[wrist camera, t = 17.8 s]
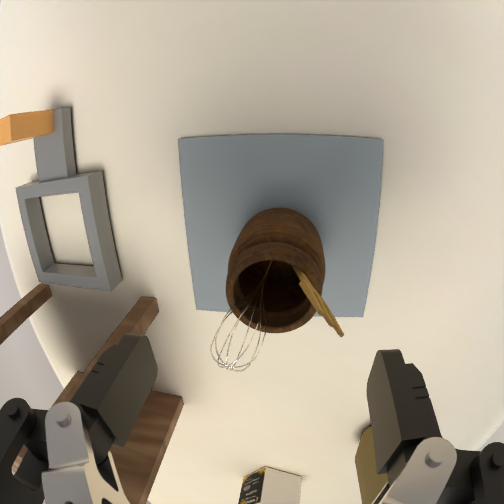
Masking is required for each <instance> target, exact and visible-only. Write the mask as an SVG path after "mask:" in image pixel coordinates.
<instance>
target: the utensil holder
mask: <svg viewBox="0 0 504 504" xmlns="http://www.w3.org/2000/svg"><path fill="white" fill-rule="evenodd" d="M325 272H326V268H325V258H324V252H323V246H322V242H321V238H320V235H319V233H318V231H317V229H316V227H315V226H314V224H313V223H312V222H311V221H310V220H309V219H308V218H307V217H306V216H304V215H303V214H301V213H299V212H297V211H295V210H292V209H288V208H271V209H267V210H264V211H261V212H259V213H258V214H256V215H255V216H253V217H252V218H251V219H250V220H249V221H248V222H247V223H246V224H245V226H244V227H243V229H242V230H241V232H240V234H239V236H238V238H237V240H236V242H235V244H234V246H233V248H232V251H231V254H230V257H229V261H228V274H227V278H226V298H227V302H228V304H229V307H230V310H232V312H233V313H234V315H235V316H236V317H237V318H238V320H237V322H236V323H237V324H238V322H239V320H240V321H241V322H243V323H244V324H246V325H247V326H249V327H251V328H253V329H255V331H256V330H258V331H260V333H261V331H262V332H265V335H266V332H267V333H284V332H289V331H292V330H295V329H297V328H299V327H301V326H303V325H304V324H305V323H307V322H308V321H309V320H310V319H311V318H312V317H313V316H314V314H315V313H316V311H317V313H318V314H319V315H320V316H323V317H324V319H325V320H326V322H327V323H328V324H329V325H330V326H331V327H333V328H334V329H335V331H336V332H337V334H338V335H339V336H340V337H343V336H344V333H343V332H342V330H341V328H340V326H339V324H338V323H337V321H336V319H335V317H334V316H333V314H332V312H331V310H330V309H329V307H328V305H327V304H326V302H325V301H324V300H323V298H322V297H321V296H322V289H323V284H324V280H325ZM230 310H229V311H230ZM229 311H228V312H229ZM228 312H227V314H228ZM232 312H231V313H232ZM231 313H230V314H231ZM227 314H226V315H227ZM230 314H229V315H230ZM226 315H225V317H226ZM229 315H228V316H229ZM228 316H227V317H228ZM225 317H224V319H223V321H222V323H223V322H224V320H225V319H226V318H227V317H226V318H225ZM222 323H221V325H222ZM236 323H235V325H236V327H237V324H236ZM221 325H220V326H219V328H218V330H217V332H216V334H215V336H216V338H217V334H218V332H219V329H220V327H221ZM235 325H234V327H235ZM234 327H233V328H234ZM236 327H235V329H236ZM249 327H248V330H249ZM233 328H232V330H233ZM235 329H234V331H235ZM232 330H231V331H232ZM248 330H247V333H248ZM231 331H230V333H231ZM234 331H233V334H234ZM255 331H254V334H255ZM230 333H229V335H230ZM247 333H246V336H247ZM233 334H232V336H231V339H230V343H231V340H232V337H233ZM254 334H253V336H254ZM229 335H228V337H229ZM265 335H264V338H265ZM215 336H214V339H215V348H216V338H215ZM246 336H245V339H246ZM253 336H252V338H251V341H252V339H253ZM228 337H227V339H228ZM264 338H263V341H264ZM214 339H213V341H214ZM227 339H226V341H227ZM245 339H244V342H245ZM259 340H260V335H259ZM213 341H212V344H213ZM226 341H225V343H226ZM251 341H250V343H251ZM263 341H262V344H263ZM244 342H243V344H244ZM225 343H224V345H225ZM230 343H229V346H228V351H229V347H230ZM250 343H249V345H250ZM212 344H211V347H212ZM258 344H259V341H258ZM258 344H257V347H258ZM262 344H261V346H262ZM224 345H223V347H224ZM249 345H248V346H247V348H248V347H249ZM261 346H260V349H261ZM242 347H243V345H242ZM242 347H241V349H242ZM257 347H256V350H257ZM247 348H246V349H245V351H246V350H247ZM260 349H259V351H260ZM222 350H223V348H222ZM222 350H221V352H222ZM256 350H255V353H256ZM210 351H211V348H210ZM228 351H227V357H226V364H225V363H224V362H223V361H222V360H221V358H220V354H221V352H220V354H218V352H217V348H216V352H217V355H218V361H216V360H215V358H214V357H213V355H212V351H211V355H212V357H213V359H214V360H215V361H216V362H217V363H218V366H219V364H221V363H219V359H220V360H221V361H222V363H223V364H224V365H223V364H221V365H223V366H224V367H227V370H228V368H229V369H231V368H230V367H232V369H231V370H233V371H238V370H234V369H233V368H237V367H234V366H235V363H236V361H237V360H238V359H239V358H240V357H241V356H242V355H243V354H244V352H245V351H244V352H243V353H242V354H241V356H240V357H239V354H240V352H241V350H240V352H239V354H238V357H239V358H238V357H237V359H236V360H235V361H234V362H235V363H234V362H233V363H234V366H229V365H231V364H233V363H231V364H229V365H227V358H228ZM259 351H258V353H259ZM255 353H254V355H255ZM258 353H257V355H258ZM254 355H253V358H254ZM257 355H256V357H257ZM256 357H255V358H256ZM253 358H252V360H251V362H252V361H253V360H254V359H255V358H254V359H253ZM251 362H249V363H250V364H251ZM249 363H247V364H245V365H243V366H246V365H248V364H249ZM250 364H249V365H248V367H249V366H250ZM243 366H238V367H243ZM219 367H221V366H219ZM248 367H246V368H245V369H247V368H248ZM221 368H223V367H221ZM245 369H243V370H245ZM231 370H228V371H231ZM243 370H239V371H243Z"/></svg>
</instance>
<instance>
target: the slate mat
mask: <svg viewBox="0 0 504 504" xmlns="http://www.w3.org/2000/svg"><path fill="white" fill-rule="evenodd" d="M178 145H179V159H180V172H181V184H182V195H183V206H184V216H185V225H186V234H187V243H188V251H189V259H190V267H191V275H192V282H193V289H194V296H195V303H196V310H207V311H220V312H228V311H229V310H230V307H229V304H228V302H227V298H226V278H227V274H228V261H229V257H230V254H231V251H232V248H233V246H234V244H235V242H236V240H237V238H238V236H239V234H240V232H241V230H242V229H243V227H244V226H245V224H246V223H247V222H248V221H249V220H250V219H251V218H252V217H253V216H255V215H256V214H258V213H259V212H261V211H264V210H267V209H271V208H288V209H292V210H295V211H297V212H299V213H301V214H303V215H304V216H306V217H307V218H308V219H309V220H310V221H311V222H312V223H313V224H314V226H315V227H316V229H317V231H318V233H319V235H320V238H321V242H322V246H323V252H324V258H325V268H326V272H325V280H324V284H323V289H322V296H321V297H322V298H323V300H324V301H325V302H326V304H327V305H328V307H329V309H330V310H331V312H332V314H333V316H334V317H363V314H364V309H365V304H366V299H367V293H368V288H369V282H370V276H371V269H372V263H373V256H374V249H375V241H376V233H377V225H378V215H379V205H380V194H381V180H382V164H383V139H374V138H362V137H349V136H331V135H305V134H252V135H224V136H207V137H193V138H181V139H178ZM229 312H232V310H230V311H229ZM314 316H320V315H319V314H318V313H317V311H316V313H315V314H314ZM322 317H323V316H322Z"/></svg>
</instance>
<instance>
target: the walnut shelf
mask: <svg viewBox="0 0 504 504" xmlns="http://www.w3.org/2000/svg"><path fill="white" fill-rule="evenodd" d="M50 297H52V295H51V292H50V289H49V286H48V285H46V284H39V285H38V286H37V287H35V288H34V289H33V290H32V291H30V292H29V293H28V294H27V295H26V296H24V297H23V298H22V299H21V300H20V301H18V302H17V303H16V304H15V305H14V306H13V307H12V308H10V309H9V310H8V311H7V312H6V313H5V314H4V315H2V316H1V317H0V345H1V344H2V343H3V341H4V340H6V339H7V338H8V337H9V336H10V335H11V334H12V333H13V332H14V331H15V330H16V329H17V328H18V327H19V326H20V325H21V324H22V323H23V322H24V321H25V320H26V319H27V318H28V317H30V316H31V315H32V314H33V313H34V312H35V311H36V310H37V309H38V308H39V307H40V306H41V305H43V304H44V303H45V302H46V301H47V300H48V299H49V298H50ZM158 312H159V310H158V305H157V301H156V298H151V297H141V298H140V299H139V300H138V302H137V303H136V304H135V305H134V307H133V308H132V309H131V311H130V312H129V313H128V314H127V316H126V317H125V318H124V319H123V321H122V322H121V323H120V324H119V326H118V327H117V328H116V330H115V331H114V332H113V334H112V335H111V336H110V337H109V339H108V340H107V341H106V343H105V344H104V345H103V347H102V348H101V349H100V351H99V352H98V353H97V355H96V356H95V357H94V359H93V360H92V361H91V363H90V364H89V365H88V367H87V368H86V369H85V371H84V372H83V373H81V372H78V371H77V372H76V374H75V375H74V376H73V378H72V379H71V381H70V382H69V383H68V385H67V386H66V387H65V389H64V390H63V392H62V393H61V394H60V396H59V397H58V399H57V400H56V401H55V403H54V404H53V406H54V405H55V404H58V403H61V402H70V400H71V399H72V397H73V396H74V394H75V393H76V391H77V390H78V388H79V387H80V385H81V384H82V382H83V381H84V380H85V378H86V377H87V375H88V374H89V372H91V369H92V368H93V366H94V365H95V364H97V361H98V359H99V358H100V356H101V355H102V354H103V352H104V351H106V350H107V349H108V348H110V347H111V346H112V345H114V344H115V345H118V344H119V342H120V341H121V339H122V338H123V336H124V335H125V334H127V333H130V334H136V335H144V333H145V332H146V330H147V329H148V327H149V326H150V324H151V323H152V321H153V320H154V318H155V317H156V315H157V314H158ZM183 405H184V403H183V400H182V397H180V396H174V395H169V394H164V393H159V392H154V391H150V393H149V395H148V397H147V399H146V401H145V403H144V405H143V407H142V409H141V411H140V413H139V416H138V418H137V420H136V422H135V424H134V426H133V428H132V430H131V432H130V435H129V437H128V439H127V441H126V443H125V445H124V447H120V446H117V445H114V444H112V446H111V448H110V452H111V454H112V458H113V461H114V464H115V468H116V471H117V474H118V477H119V480H120V483H121V486H122V489H123V492H124V494H125V496H126V498H127V500H128V501H129V502H130V504H146V501H147V499H148V496H149V493H150V491H151V488H152V486H153V483H154V480H155V478H156V475H157V473H158V470H159V467H160V465H161V462H162V460H163V457H164V454H165V452H166V449H167V447H168V444H169V441H170V439H171V436H172V434H173V431H174V428H175V426H176V423H177V421H178V418H179V416H180V413H181V410H182V408H183ZM26 452H27V449H26V448H25V447H24V446H23V447H22V448H21V450H20V452H19V454H18V456H17V458H16V460H15V461H14V463H13V465H12V470H13V471H14V472H15V473H16V471H17V469H18V467H19V465H20V463H21V461H22V459H23V457H24V456H25V454H26Z"/></svg>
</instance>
